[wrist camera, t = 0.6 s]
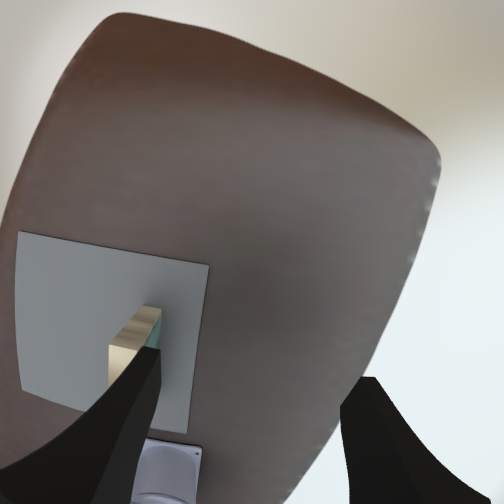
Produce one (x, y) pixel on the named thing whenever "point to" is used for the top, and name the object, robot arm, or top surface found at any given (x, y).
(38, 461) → the robot arm
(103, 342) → the slate mat
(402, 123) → the top surface
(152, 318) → the teal framed tile
